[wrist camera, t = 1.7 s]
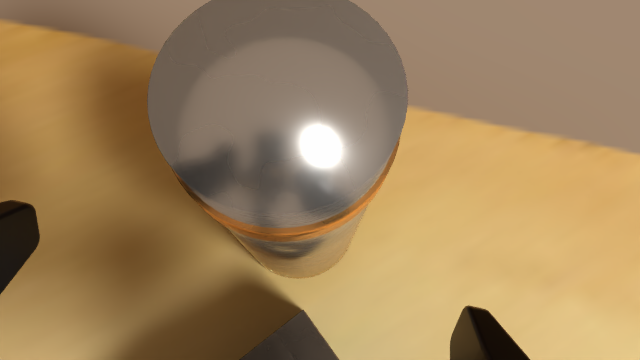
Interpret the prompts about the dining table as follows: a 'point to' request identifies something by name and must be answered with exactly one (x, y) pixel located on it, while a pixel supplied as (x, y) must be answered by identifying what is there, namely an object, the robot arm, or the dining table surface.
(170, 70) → the tube
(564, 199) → the dining table surface
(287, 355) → the collar
